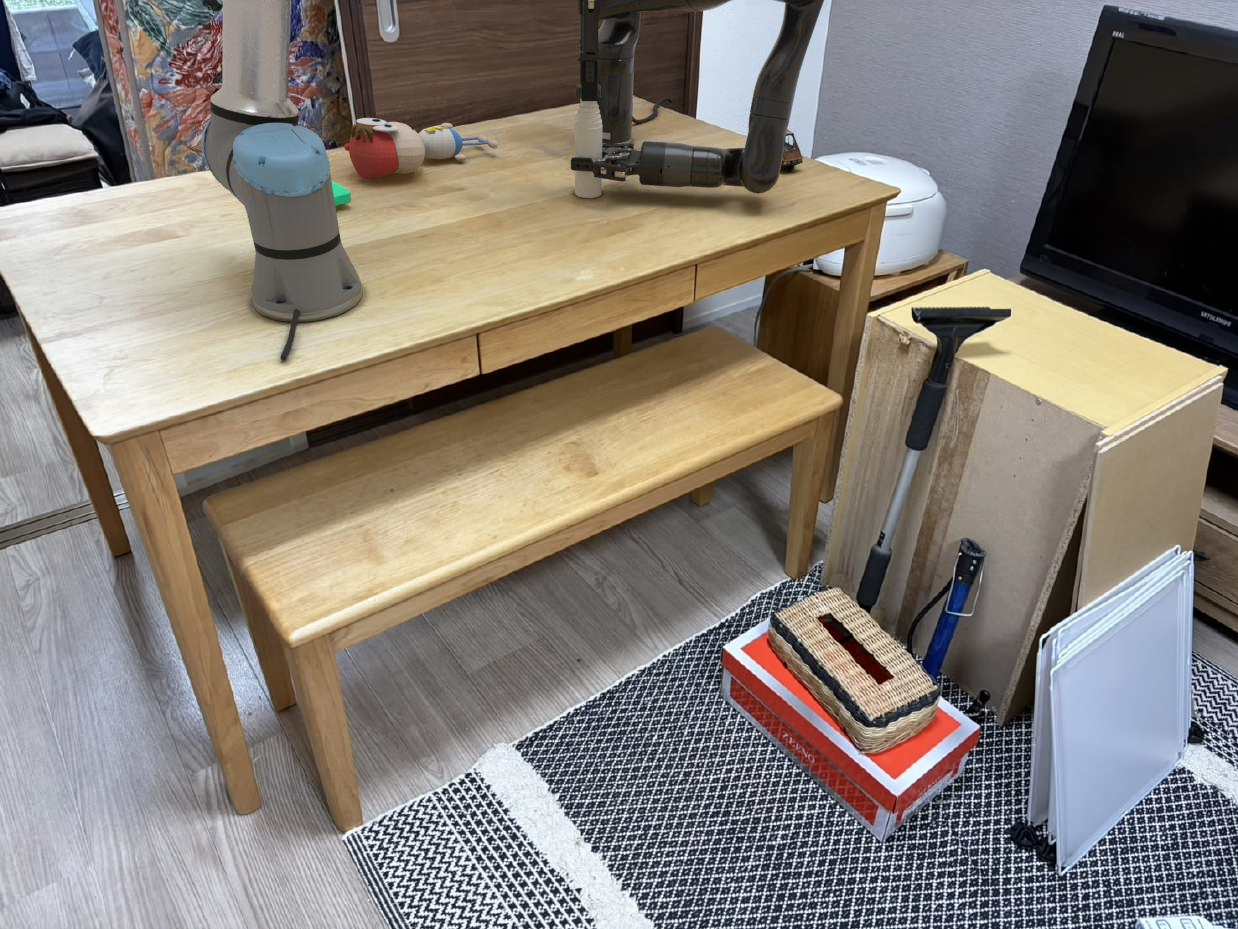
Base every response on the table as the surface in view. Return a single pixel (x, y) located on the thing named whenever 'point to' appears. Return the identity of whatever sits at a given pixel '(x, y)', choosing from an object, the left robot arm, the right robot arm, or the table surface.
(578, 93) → the cap
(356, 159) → the toy
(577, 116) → the bottle
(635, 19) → the right robot arm
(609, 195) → the table surface
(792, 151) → the toy car
